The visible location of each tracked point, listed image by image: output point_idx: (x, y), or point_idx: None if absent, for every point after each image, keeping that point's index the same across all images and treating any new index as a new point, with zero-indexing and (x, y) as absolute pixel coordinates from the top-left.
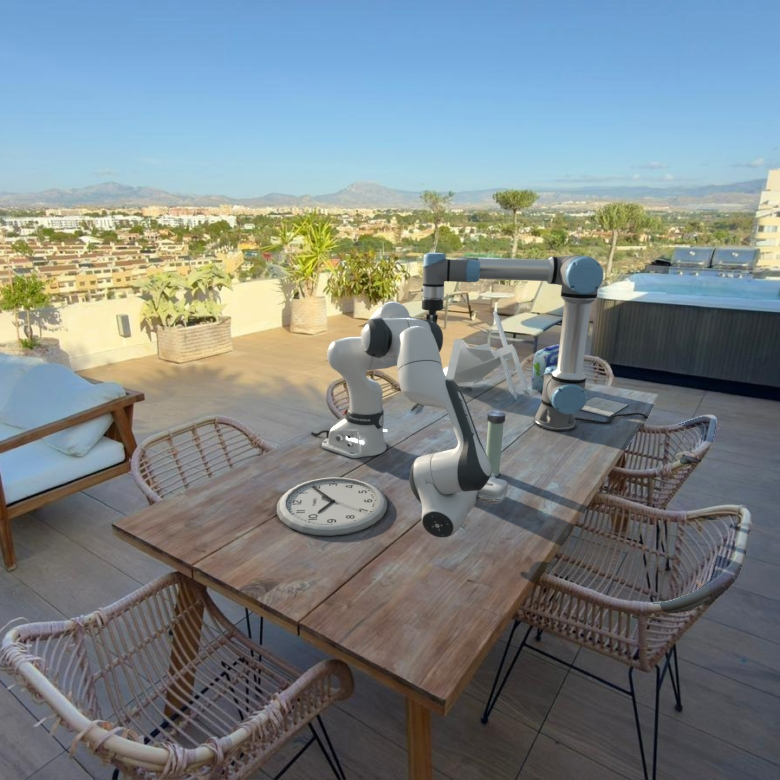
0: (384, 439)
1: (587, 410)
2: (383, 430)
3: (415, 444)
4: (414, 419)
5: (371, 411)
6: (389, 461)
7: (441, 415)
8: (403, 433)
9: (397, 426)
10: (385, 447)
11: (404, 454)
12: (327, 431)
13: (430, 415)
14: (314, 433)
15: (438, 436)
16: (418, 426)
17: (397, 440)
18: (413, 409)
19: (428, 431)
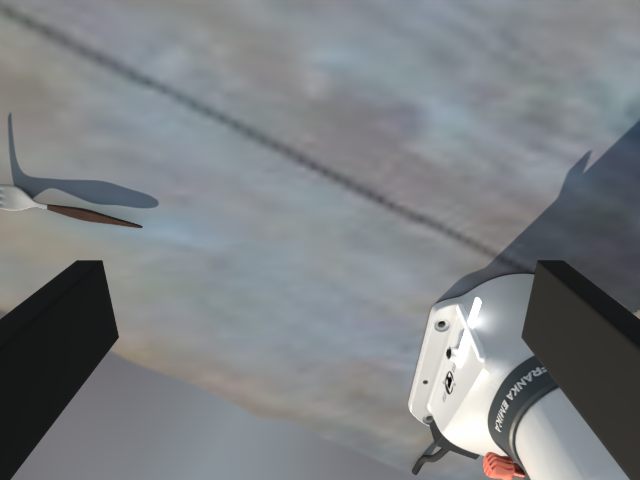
0: (526, 295)
1: None
2: (477, 310)
3: (476, 183)
4: (220, 205)
5: None
6: (613, 253)
7: (138, 92)
8: (375, 233)
9: (309, 259)
10: (532, 279)
11: (562, 213)
12: (477, 454)
13: (154, 142)
14: (420, 467)
15: (391, 98)
16: (295, 184)
17: (442, 246)
18: (118, 219)
19: (342, 142)
